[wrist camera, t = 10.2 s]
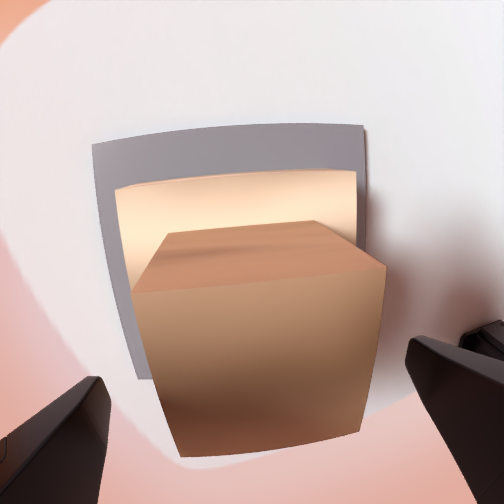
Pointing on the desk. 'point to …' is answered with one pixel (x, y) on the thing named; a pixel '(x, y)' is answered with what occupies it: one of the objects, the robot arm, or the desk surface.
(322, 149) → the slate board
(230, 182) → the birch base block
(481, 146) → the desk surface
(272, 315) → the walnut cube
